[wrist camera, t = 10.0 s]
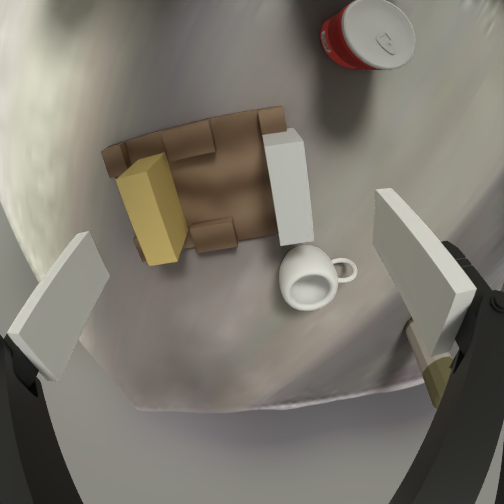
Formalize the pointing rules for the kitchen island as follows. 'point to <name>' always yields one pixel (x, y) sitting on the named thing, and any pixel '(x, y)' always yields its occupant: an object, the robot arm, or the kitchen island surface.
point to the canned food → (369, 36)
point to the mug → (310, 277)
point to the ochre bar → (154, 209)
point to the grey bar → (289, 186)
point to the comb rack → (213, 175)
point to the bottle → (430, 365)
